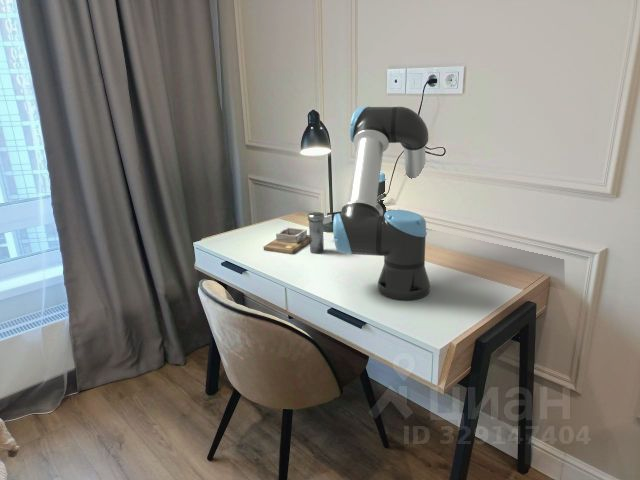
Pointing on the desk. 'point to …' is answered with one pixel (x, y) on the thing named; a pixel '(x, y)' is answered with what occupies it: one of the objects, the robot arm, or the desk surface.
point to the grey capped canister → (316, 232)
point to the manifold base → (288, 241)
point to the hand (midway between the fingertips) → (332, 225)
